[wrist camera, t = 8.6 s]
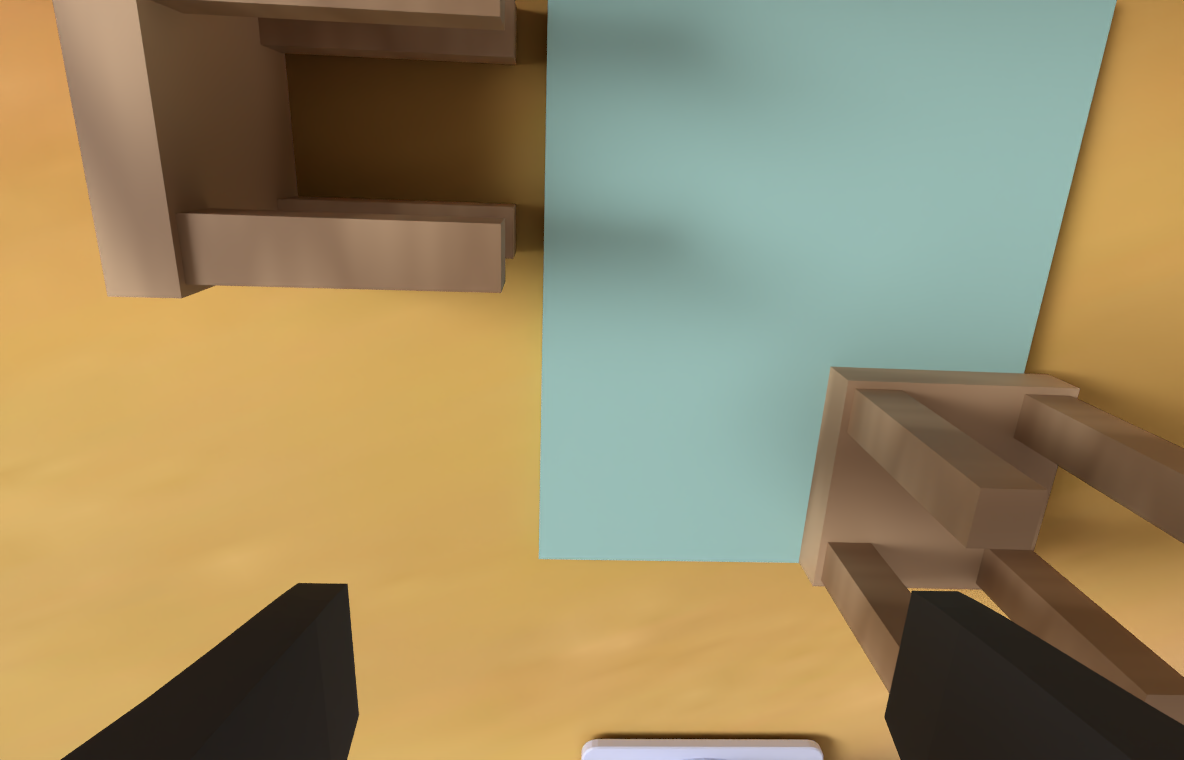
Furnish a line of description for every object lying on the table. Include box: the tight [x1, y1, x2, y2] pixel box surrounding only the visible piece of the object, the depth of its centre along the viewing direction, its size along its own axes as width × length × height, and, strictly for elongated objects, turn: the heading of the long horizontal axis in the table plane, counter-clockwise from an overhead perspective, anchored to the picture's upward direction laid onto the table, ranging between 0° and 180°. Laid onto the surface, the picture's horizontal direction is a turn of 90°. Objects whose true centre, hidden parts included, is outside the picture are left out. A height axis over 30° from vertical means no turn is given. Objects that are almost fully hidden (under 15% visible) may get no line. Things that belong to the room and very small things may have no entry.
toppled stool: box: [52, 0, 516, 298], centre depth 13 cm, size 6×6×7 cm
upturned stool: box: [799, 367, 1184, 725], centre depth 16 cm, size 6×6×7 cm
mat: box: [539, 0, 1117, 563], centre depth 18 cm, size 15×13×1 cm
